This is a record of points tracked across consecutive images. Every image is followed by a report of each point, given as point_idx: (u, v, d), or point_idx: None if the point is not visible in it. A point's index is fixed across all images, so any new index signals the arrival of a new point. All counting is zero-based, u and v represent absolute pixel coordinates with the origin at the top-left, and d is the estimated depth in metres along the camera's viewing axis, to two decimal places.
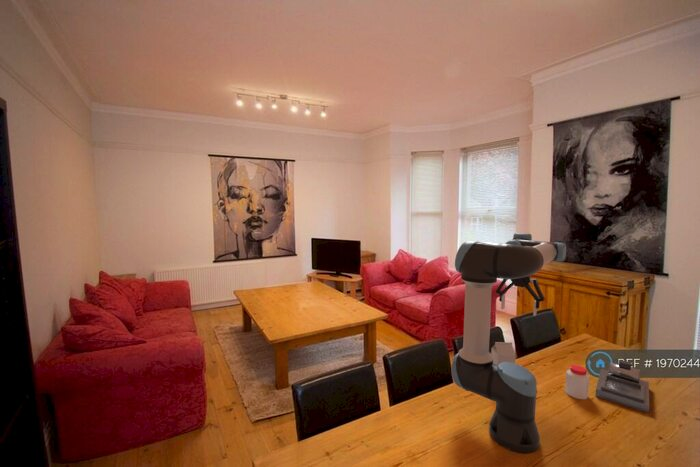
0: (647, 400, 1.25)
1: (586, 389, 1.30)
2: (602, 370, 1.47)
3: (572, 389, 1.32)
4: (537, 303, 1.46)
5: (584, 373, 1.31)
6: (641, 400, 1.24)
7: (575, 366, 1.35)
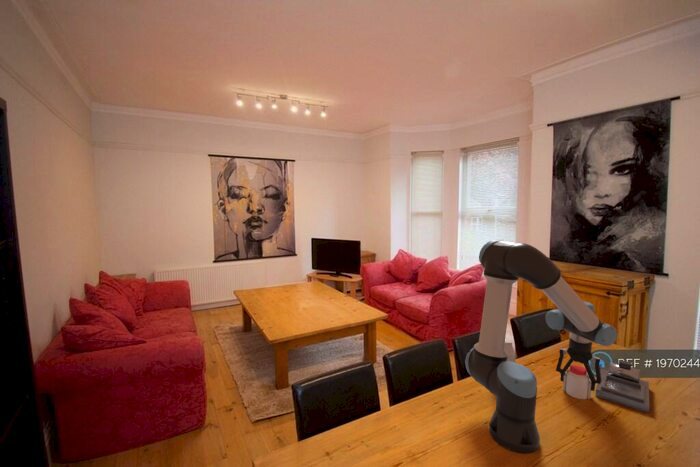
0: (647, 400, 1.25)
1: (586, 389, 1.30)
2: (602, 370, 1.47)
3: (572, 389, 1.32)
4: (593, 385, 1.30)
5: (584, 373, 1.31)
6: (641, 400, 1.24)
7: (575, 366, 1.35)
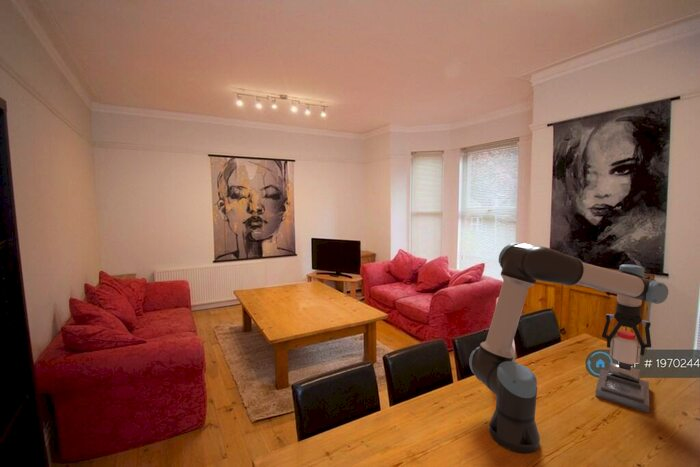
0: (647, 400, 1.25)
1: (635, 353, 1.28)
2: (602, 370, 1.47)
3: (621, 354, 1.29)
4: (642, 349, 1.27)
5: (633, 337, 1.28)
6: (641, 400, 1.24)
7: (622, 331, 1.32)
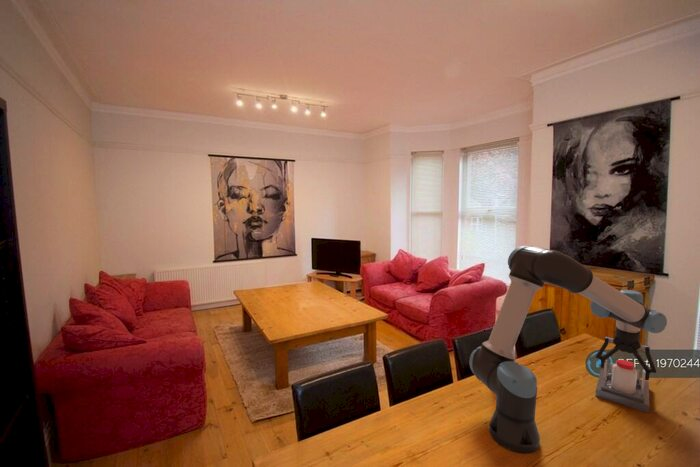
0: (647, 400, 1.25)
1: (634, 384, 1.29)
2: (602, 370, 1.47)
3: (620, 383, 1.30)
4: (647, 374, 1.27)
5: (632, 367, 1.29)
6: (641, 400, 1.24)
7: (622, 361, 1.33)
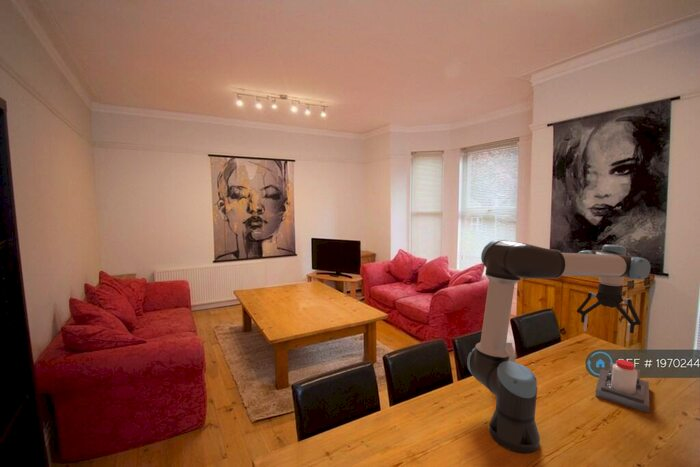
0: (647, 400, 1.25)
1: (634, 384, 1.29)
2: (602, 370, 1.47)
3: (620, 384, 1.30)
4: (632, 327, 1.26)
5: (632, 368, 1.29)
6: (641, 400, 1.24)
7: (622, 361, 1.33)
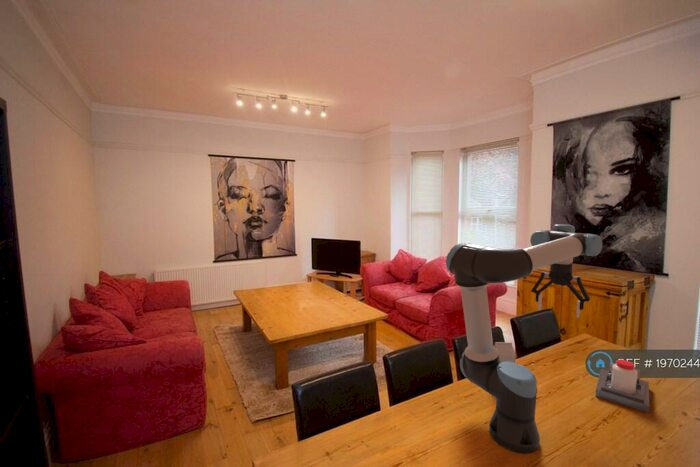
0: (647, 400, 1.25)
1: (634, 384, 1.29)
2: (602, 370, 1.47)
3: (620, 384, 1.30)
4: (581, 303, 1.29)
5: (632, 368, 1.29)
6: (641, 400, 1.24)
7: (621, 361, 1.33)
